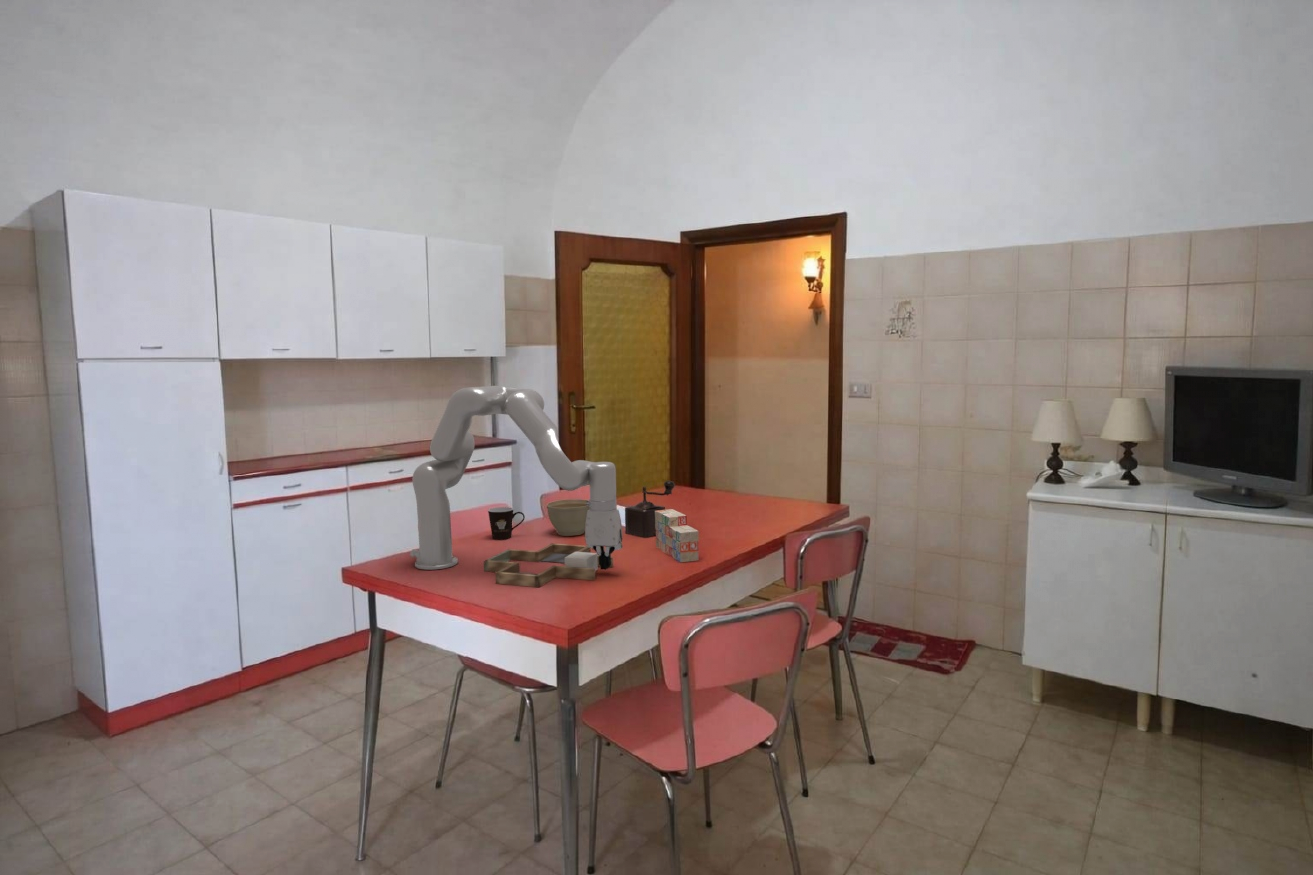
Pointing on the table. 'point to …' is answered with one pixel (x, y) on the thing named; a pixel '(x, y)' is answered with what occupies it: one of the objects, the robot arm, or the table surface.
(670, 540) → the stack of blocks
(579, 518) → the planter bowl
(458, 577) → the table surface
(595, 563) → the cream block
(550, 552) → the low wooden maze walls
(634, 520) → the manual coffee grinder
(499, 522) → the coffee mug
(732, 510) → the table surface
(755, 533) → the table surface
